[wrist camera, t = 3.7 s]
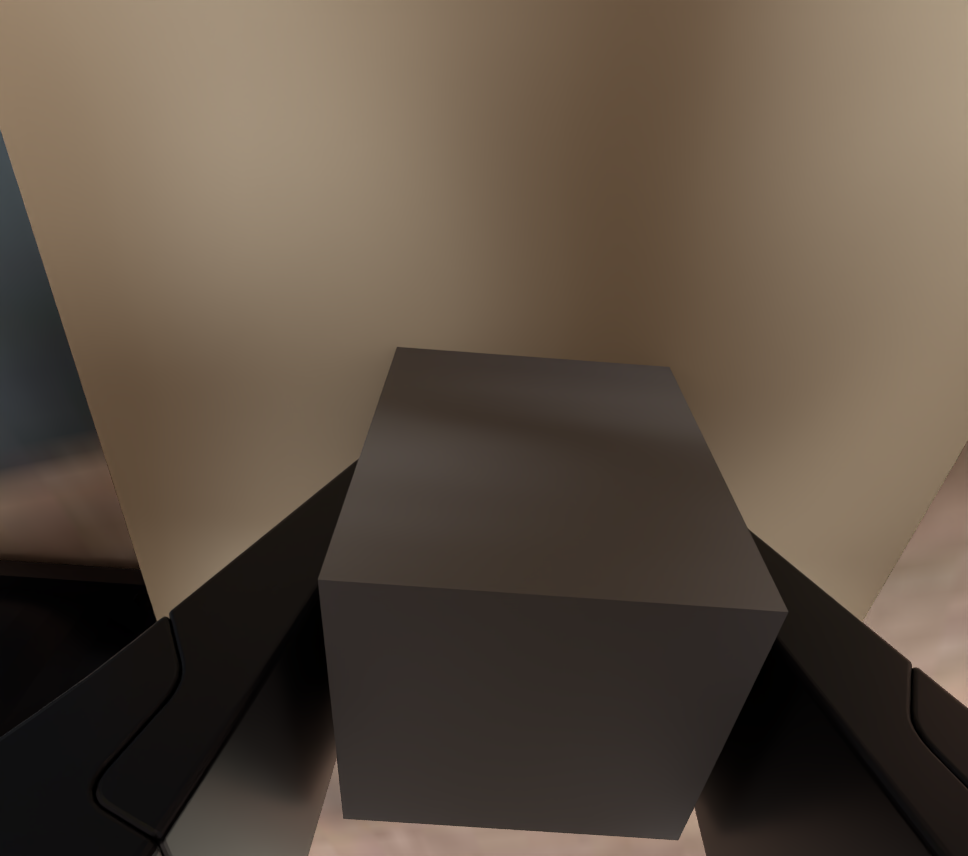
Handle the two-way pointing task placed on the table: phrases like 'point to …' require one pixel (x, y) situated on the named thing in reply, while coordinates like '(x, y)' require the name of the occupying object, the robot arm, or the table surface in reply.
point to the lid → (513, 346)
